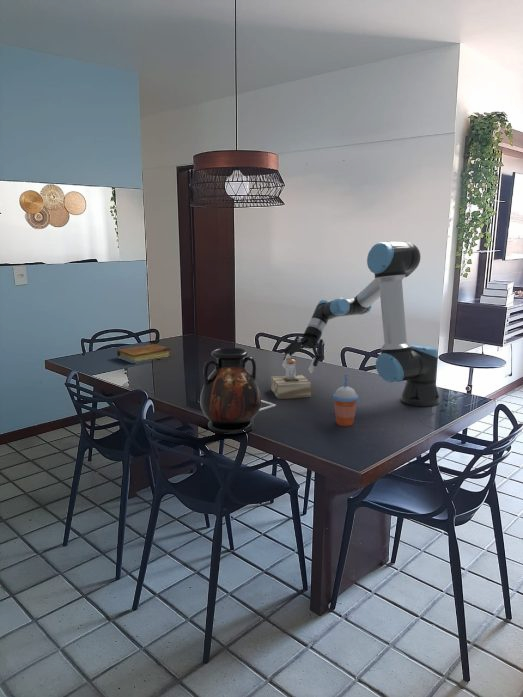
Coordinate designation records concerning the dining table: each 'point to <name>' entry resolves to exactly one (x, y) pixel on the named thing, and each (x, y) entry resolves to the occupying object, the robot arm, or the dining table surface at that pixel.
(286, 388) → the socket block
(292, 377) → the peg
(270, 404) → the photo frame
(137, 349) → the diary
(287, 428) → the dining table surface
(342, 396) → the cup with straw
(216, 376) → the amphora vase
